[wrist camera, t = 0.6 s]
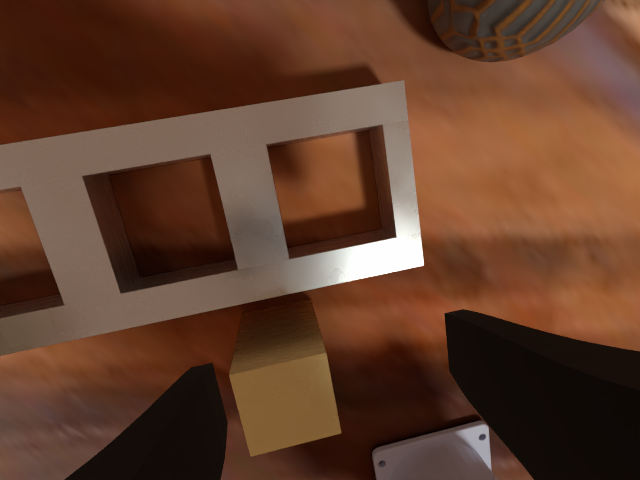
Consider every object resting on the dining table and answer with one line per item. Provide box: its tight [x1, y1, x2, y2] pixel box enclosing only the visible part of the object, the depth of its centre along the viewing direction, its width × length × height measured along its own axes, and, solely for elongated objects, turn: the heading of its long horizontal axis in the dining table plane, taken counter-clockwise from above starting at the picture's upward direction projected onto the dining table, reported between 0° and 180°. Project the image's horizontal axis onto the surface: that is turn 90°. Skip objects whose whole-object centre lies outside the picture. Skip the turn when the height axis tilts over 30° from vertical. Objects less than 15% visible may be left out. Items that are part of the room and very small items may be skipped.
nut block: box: [229, 299, 341, 456], centre depth 17 cm, size 4×4×6 cm
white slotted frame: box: [0, 81, 424, 356], centre depth 17 cm, size 9×24×2 cm, turn 100°
